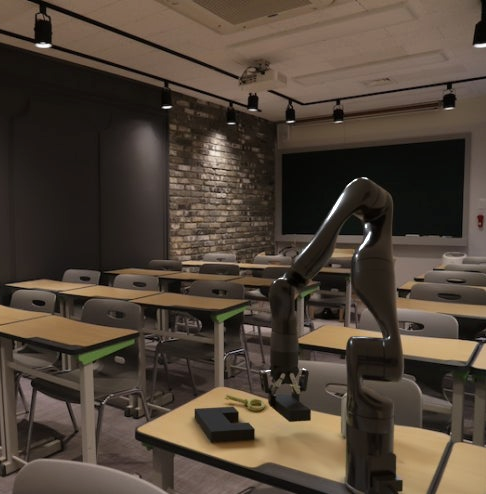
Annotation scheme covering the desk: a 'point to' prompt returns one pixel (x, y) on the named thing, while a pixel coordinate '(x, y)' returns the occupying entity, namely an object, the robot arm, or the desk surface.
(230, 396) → the key
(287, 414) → the strip pad
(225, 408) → the base pad
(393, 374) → the robot arm
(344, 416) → the photo printer
